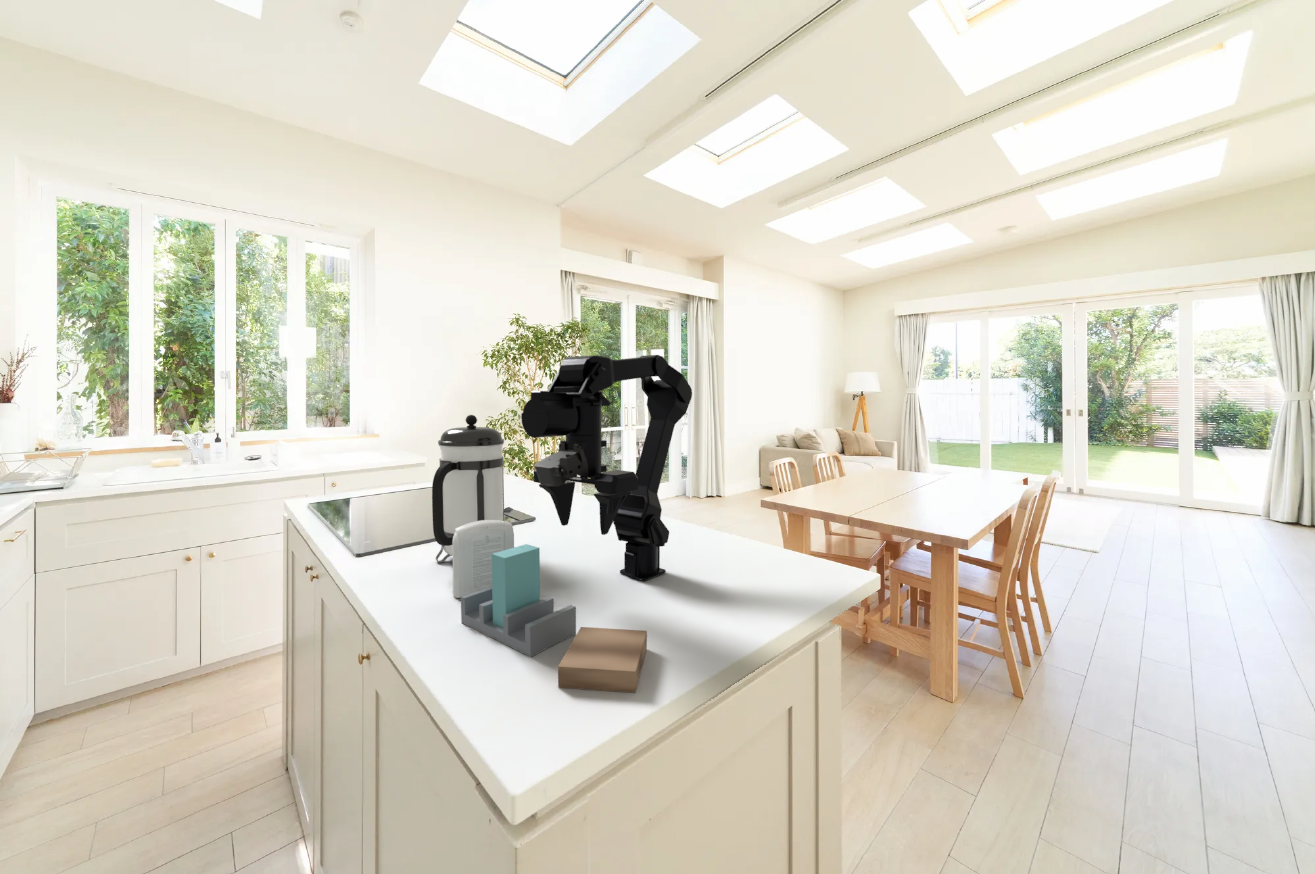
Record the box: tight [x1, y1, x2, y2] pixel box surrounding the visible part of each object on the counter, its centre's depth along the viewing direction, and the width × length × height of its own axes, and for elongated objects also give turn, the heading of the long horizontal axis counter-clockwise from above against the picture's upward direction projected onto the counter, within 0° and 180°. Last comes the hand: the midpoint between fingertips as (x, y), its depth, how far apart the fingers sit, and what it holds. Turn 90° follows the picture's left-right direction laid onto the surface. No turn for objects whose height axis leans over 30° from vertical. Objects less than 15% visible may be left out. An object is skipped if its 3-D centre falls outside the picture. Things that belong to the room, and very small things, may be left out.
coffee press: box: [431, 414, 505, 564], centre depth 101 cm, size 17×16×30 cm
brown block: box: [557, 626, 648, 694], centre depth 61 cm, size 10×9×2 cm
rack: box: [460, 586, 577, 658], centre depth 71 cm, size 8×16×4 cm, turn 53°
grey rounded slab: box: [452, 520, 515, 599], centre depth 85 cm, size 10×4×12 cm, turn 123°
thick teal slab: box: [492, 543, 541, 627], centre depth 71 cm, size 6×3×10 cm, turn 143°
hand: (583, 529), depth 80 cm, fingers open, 9 cm apart
